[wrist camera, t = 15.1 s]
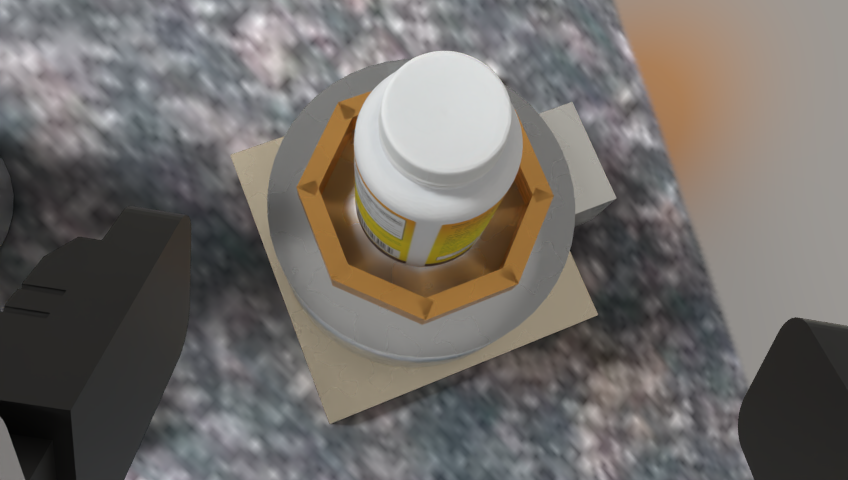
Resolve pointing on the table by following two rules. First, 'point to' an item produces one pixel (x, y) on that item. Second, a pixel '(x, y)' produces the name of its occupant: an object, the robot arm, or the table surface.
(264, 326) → the table surface
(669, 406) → the table surface
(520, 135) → the supplement bottle
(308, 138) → the octagonal rim cylinder base
